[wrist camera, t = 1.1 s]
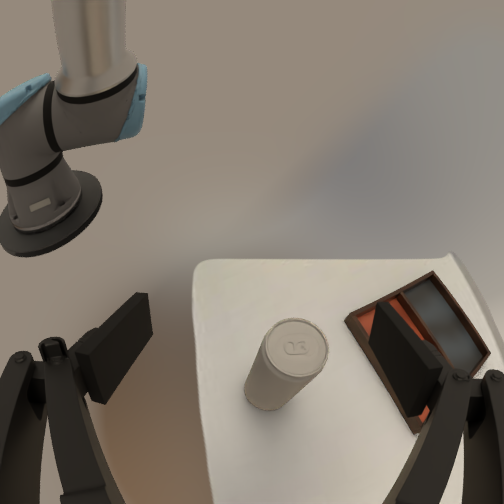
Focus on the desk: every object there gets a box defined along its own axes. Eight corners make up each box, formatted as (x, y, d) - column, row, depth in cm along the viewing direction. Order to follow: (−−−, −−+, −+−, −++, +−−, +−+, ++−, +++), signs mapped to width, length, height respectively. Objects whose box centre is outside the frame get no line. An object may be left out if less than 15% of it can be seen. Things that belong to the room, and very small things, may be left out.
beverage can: (291, 410, 26) (336, 375, 17) (244, 412, 25) (266, 381, 17) (286, 368, 29) (324, 315, 21) (242, 370, 29) (260, 316, 20)
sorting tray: (343, 320, 34) (349, 313, 33) (427, 277, 42) (433, 270, 40) (413, 434, 24) (423, 431, 23) (483, 358, 31) (491, 353, 30)
